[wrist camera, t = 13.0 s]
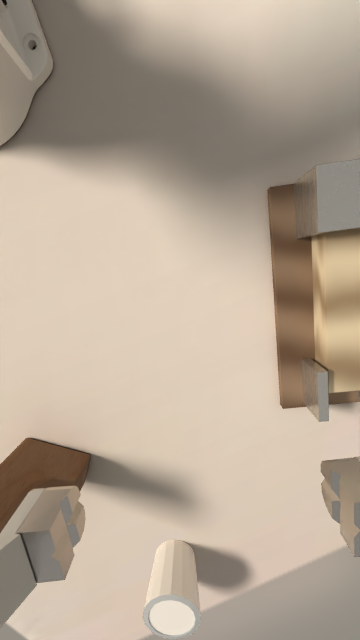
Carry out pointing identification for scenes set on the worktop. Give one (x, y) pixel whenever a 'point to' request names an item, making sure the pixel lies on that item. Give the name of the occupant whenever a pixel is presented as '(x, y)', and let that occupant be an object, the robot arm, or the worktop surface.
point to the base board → (293, 299)
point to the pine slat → (337, 307)
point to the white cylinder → (173, 592)
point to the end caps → (320, 217)
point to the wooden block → (37, 473)
